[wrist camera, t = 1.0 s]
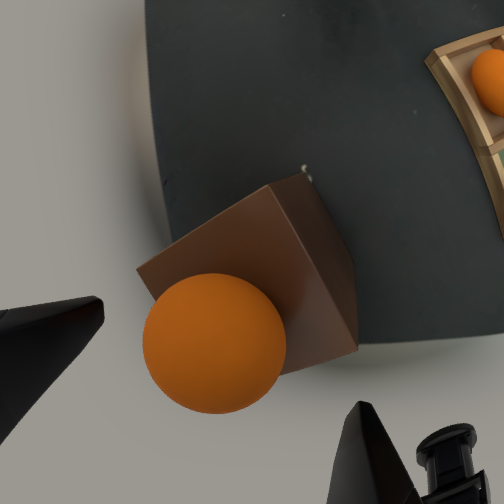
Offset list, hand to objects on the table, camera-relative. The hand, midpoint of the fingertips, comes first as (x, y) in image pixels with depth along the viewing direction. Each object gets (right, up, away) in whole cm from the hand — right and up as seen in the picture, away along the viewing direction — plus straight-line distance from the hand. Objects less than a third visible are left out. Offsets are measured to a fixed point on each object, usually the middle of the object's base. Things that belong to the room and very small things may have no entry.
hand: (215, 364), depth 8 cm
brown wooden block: (+4, +4, +12) cm, 13 cm away
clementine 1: (+1, +1, +3) cm, 3 cm away
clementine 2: (+17, +14, +3) cm, 22 cm away
